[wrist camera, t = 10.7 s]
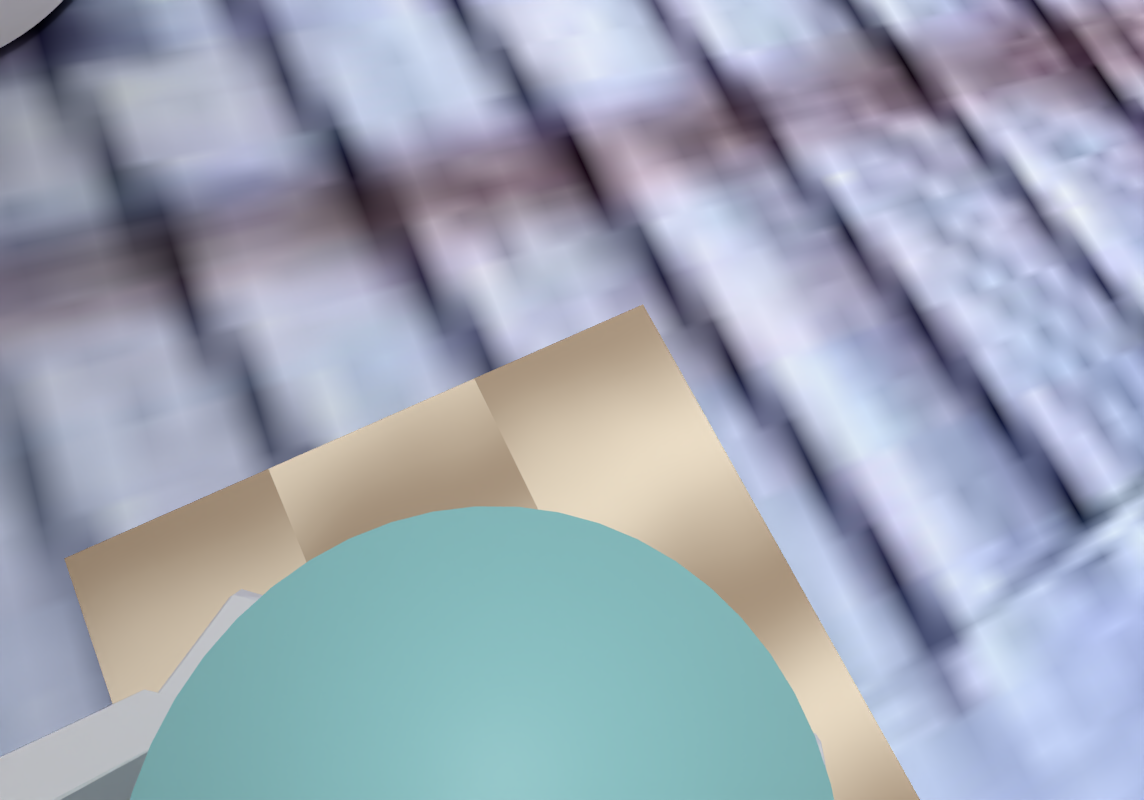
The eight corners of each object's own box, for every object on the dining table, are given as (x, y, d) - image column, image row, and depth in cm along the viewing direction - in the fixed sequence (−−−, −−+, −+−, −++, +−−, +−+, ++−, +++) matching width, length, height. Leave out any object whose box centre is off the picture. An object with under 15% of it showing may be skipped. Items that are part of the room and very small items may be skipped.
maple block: (170, 586, 24) (64, 558, 18) (614, 384, 27) (642, 304, 21) (365, 1122, 20) (309, 1296, 15) (851, 827, 23) (963, 876, 18)
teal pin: (373, 685, 16) (13, 694, 4) (550, 596, 16) (638, 403, 5) (455, 882, 15) (267, 1542, 3) (638, 779, 16) (985, 1043, 4)
